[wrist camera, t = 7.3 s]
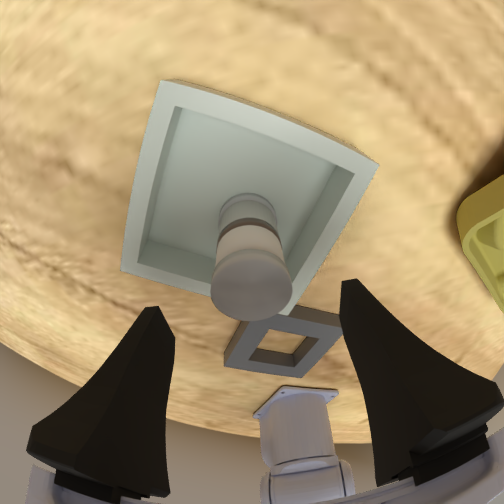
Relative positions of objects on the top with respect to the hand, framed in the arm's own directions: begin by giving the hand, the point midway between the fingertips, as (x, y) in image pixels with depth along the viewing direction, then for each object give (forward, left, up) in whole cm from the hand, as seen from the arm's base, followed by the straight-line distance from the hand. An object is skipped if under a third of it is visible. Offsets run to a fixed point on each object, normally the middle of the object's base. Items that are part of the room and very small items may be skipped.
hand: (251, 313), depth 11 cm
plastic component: (+8, -24, -9) cm, 27 cm away
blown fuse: (0, 0, -8) cm, 8 cm away
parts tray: (+1, +1, -8) cm, 8 cm away
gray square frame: (-10, -7, -8) cm, 15 cm away
